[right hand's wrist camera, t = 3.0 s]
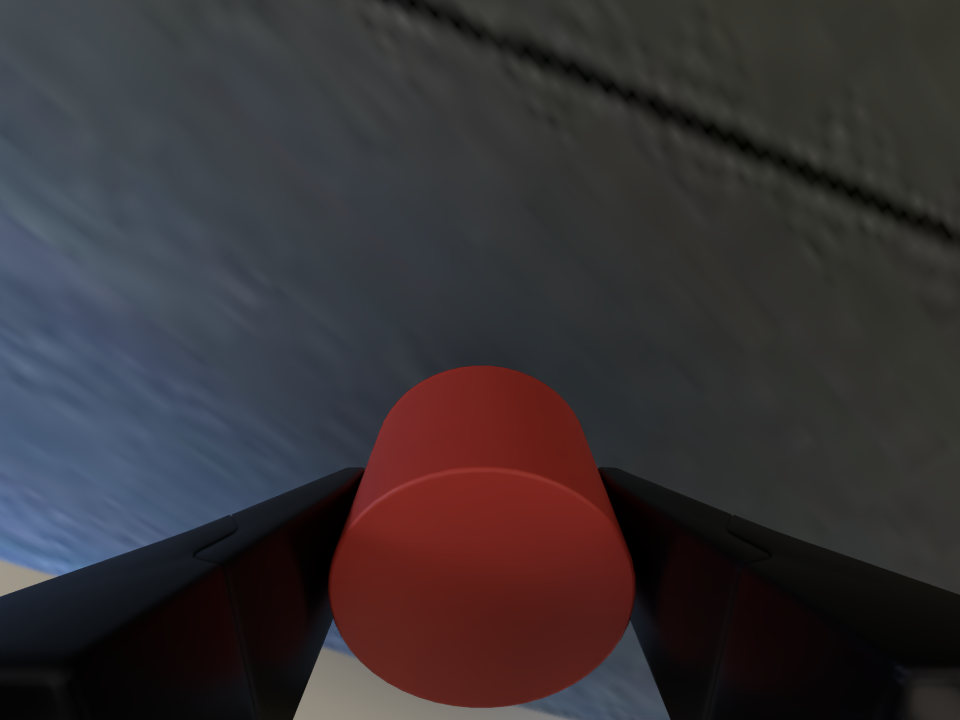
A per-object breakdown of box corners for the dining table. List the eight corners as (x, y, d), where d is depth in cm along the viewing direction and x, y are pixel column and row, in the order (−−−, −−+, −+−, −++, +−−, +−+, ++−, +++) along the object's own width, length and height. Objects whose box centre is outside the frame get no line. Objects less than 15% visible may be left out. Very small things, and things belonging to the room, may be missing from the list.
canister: (332, 435, 12) (261, 565, 8) (515, 322, 11) (534, 408, 7) (453, 577, 14) (443, 746, 10) (624, 488, 13) (689, 634, 9)
